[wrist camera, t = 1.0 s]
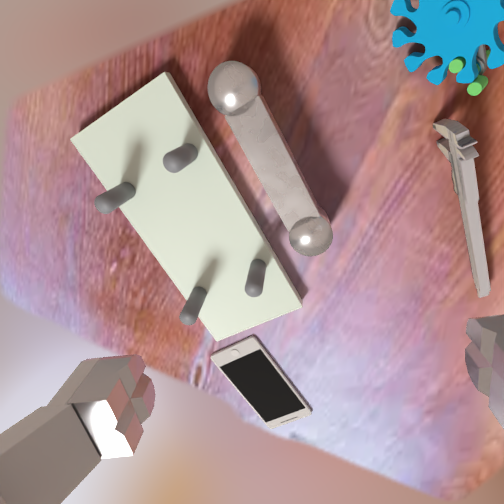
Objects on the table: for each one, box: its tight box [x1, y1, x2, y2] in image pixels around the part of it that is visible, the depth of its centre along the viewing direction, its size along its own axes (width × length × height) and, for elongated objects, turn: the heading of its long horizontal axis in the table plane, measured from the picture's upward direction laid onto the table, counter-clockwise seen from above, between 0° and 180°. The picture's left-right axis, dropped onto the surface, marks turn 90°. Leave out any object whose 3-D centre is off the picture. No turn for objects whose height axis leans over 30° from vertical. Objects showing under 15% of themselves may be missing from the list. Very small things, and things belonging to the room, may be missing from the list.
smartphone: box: [211, 336, 312, 429], centre depth 48 cm, size 7×16×1 cm, turn 33°
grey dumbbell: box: [208, 61, 333, 256], centre depth 33 cm, size 4×19×4 cm, turn 30°
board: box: [70, 72, 303, 342], centre depth 36 cm, size 12×28×6 cm, turn 30°
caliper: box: [433, 119, 491, 298], centre depth 33 cm, size 20×1×6 cm, turn 26°
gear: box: [390, 0, 504, 96], centre depth 26 cm, size 11×6×10 cm
